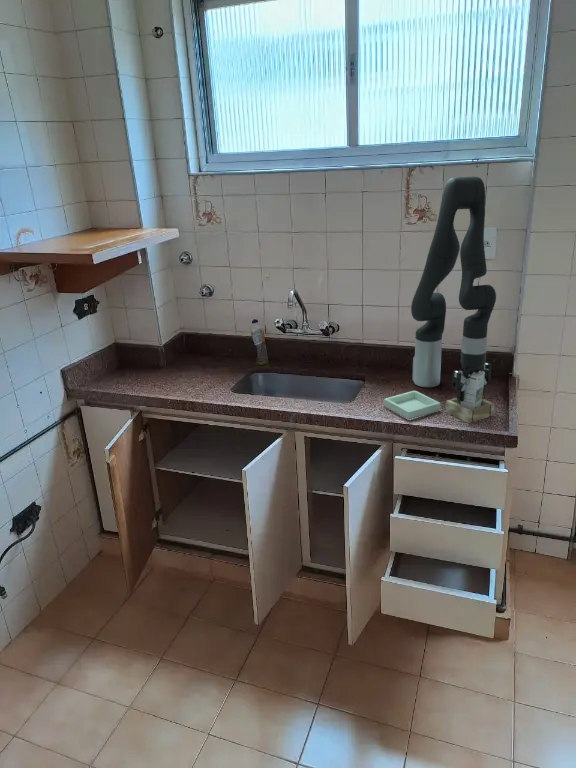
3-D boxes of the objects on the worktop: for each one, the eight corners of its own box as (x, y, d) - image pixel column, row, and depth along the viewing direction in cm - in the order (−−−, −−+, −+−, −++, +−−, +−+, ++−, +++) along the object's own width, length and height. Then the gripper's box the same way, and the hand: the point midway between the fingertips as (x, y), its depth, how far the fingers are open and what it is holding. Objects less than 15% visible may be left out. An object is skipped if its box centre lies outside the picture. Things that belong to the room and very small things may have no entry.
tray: (383, 407, 196) (384, 398, 195) (414, 398, 202) (414, 390, 201) (408, 420, 186) (408, 412, 184) (440, 411, 191) (440, 402, 190)
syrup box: (464, 408, 192) (467, 367, 187) (481, 412, 188) (485, 370, 183) (456, 414, 188) (459, 372, 183) (474, 418, 184) (477, 376, 179)
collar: (445, 411, 190) (446, 400, 189) (469, 404, 195) (470, 393, 193) (468, 423, 182) (469, 411, 180) (493, 415, 186) (494, 403, 184)
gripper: (482, 342, 186) (478, 389, 192) (447, 350, 180) (445, 399, 186) (500, 348, 180) (495, 396, 186) (464, 357, 174) (461, 407, 180)
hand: (470, 397), depth 186 cm, fingers open, 8 cm apart
